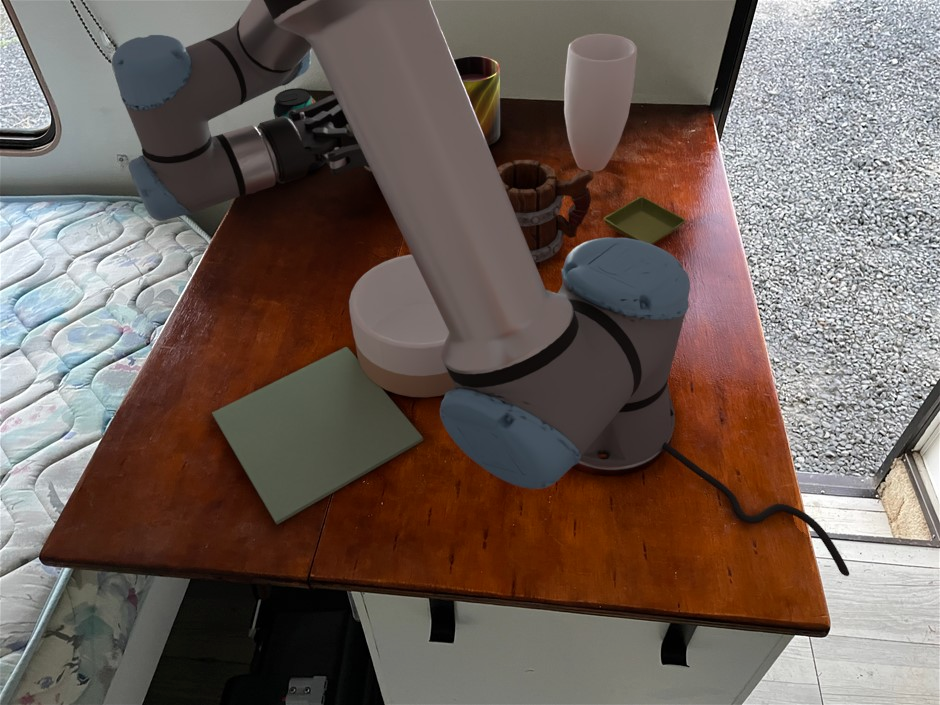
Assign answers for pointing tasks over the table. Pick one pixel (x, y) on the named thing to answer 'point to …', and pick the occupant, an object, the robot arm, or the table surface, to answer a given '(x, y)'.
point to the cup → (598, 96)
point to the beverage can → (293, 106)
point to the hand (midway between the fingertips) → (426, 106)
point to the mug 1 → (482, 92)
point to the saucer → (644, 221)
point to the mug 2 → (545, 204)
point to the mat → (314, 432)
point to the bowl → (399, 330)
